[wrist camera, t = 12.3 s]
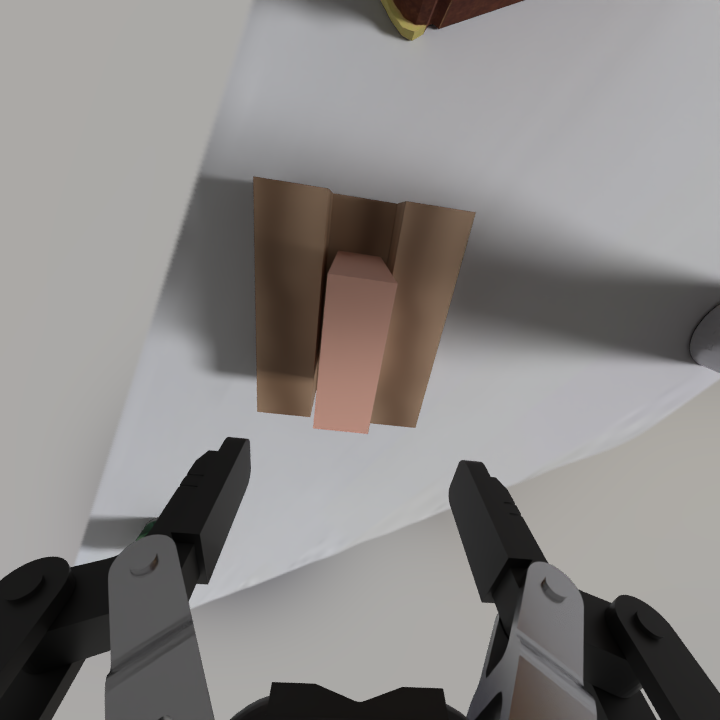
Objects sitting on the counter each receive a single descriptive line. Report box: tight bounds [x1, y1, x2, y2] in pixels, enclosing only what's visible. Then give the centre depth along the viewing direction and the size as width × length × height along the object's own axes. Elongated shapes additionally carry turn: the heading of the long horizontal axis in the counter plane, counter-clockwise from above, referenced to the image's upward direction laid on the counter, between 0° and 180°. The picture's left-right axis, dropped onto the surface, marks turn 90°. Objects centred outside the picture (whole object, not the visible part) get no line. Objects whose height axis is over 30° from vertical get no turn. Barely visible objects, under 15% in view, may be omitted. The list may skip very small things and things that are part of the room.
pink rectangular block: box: [313, 251, 398, 434], centre depth 24 cm, size 4×11×12 cm, turn 172°
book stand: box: [253, 176, 476, 428], centre depth 28 cm, size 16×20×6 cm
